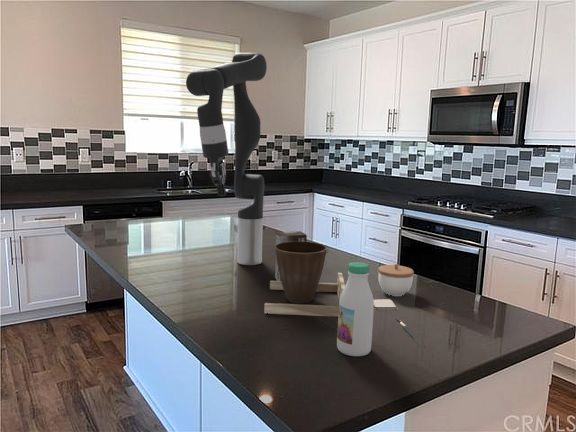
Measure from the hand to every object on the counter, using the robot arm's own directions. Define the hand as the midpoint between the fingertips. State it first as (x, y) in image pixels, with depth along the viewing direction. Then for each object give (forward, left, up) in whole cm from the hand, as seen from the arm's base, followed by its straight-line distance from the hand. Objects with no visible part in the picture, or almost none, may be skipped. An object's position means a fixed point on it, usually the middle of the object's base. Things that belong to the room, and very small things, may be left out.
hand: (222, 195), depth 142 cm
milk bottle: (+42, +38, -29) cm, 63 cm away
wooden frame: (+12, +27, -29) cm, 41 cm away
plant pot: (+11, +25, -29) cm, 39 cm away
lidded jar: (+1, +55, -29) cm, 62 cm away
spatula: (+25, +52, -29) cm, 64 cm away
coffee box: (-8, +22, -29) cm, 37 cm away
